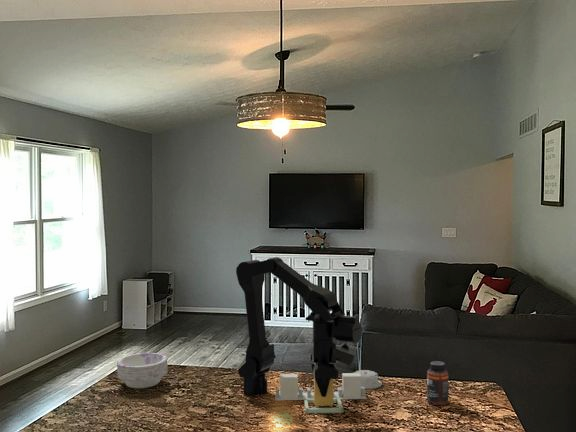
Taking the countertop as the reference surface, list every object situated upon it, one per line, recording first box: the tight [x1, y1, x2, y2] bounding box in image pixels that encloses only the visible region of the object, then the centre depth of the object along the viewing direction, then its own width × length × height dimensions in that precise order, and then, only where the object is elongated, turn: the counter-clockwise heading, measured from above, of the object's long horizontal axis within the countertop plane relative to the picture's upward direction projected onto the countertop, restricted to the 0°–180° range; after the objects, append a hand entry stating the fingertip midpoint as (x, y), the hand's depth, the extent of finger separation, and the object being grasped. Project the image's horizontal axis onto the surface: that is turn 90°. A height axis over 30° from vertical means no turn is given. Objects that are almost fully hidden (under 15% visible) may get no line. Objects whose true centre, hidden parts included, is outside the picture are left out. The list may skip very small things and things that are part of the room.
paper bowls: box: [116, 352, 168, 389], centre depth 183 cm, size 15×15×8 cm
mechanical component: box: [353, 369, 383, 390], centre depth 181 cm, size 10×4×10 cm
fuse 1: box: [279, 373, 299, 398], centre depth 169 cm, size 5×3×6 cm, turn 92°
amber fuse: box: [313, 377, 334, 407], centre depth 161 cm, size 5×3×8 cm, turn 92°
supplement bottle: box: [426, 360, 450, 406], centre depth 167 cm, size 6×6×11 cm
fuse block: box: [274, 386, 368, 401], centre depth 170 cm, size 26×6×3 cm, turn 92°
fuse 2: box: [341, 372, 361, 397], centre depth 170 cm, size 5×3×6 cm, turn 92°
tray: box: [303, 398, 345, 414], centre depth 161 cm, size 10×8×2 cm
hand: (323, 394), depth 161 cm, fingers closed on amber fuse, 3 cm apart
